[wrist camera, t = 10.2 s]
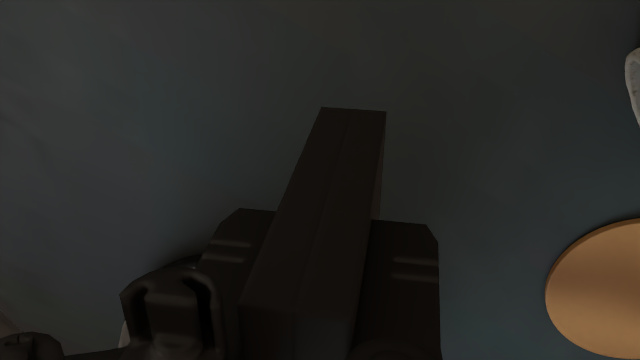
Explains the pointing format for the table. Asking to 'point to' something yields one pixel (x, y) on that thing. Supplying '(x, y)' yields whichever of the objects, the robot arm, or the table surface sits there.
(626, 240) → the cork coaster
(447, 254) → the table surface
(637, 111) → the ceramic mug
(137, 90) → the table surface
